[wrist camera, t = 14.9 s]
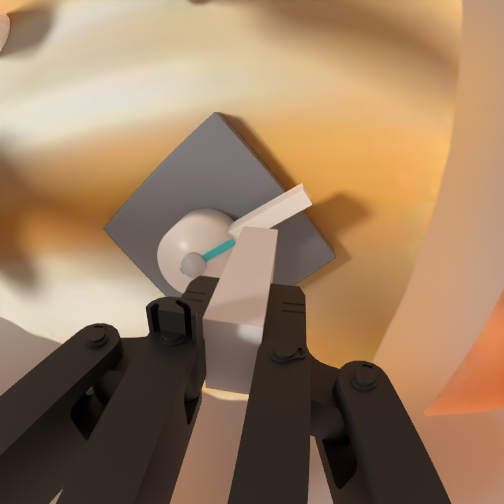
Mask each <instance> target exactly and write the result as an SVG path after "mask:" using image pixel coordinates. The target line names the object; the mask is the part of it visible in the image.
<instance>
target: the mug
mask: <svg viewBox="0 0 504 504" xmlns="http://www.w3.org/2000/svg"><path fill="white" fill-rule="evenodd" d="M9 31H10V19H9V17H8V16H7V15H6V14H2V13H0V51H1V50H2V48H3V47H4V45H5V43H6V40H7V38H8V35H9Z"/></svg>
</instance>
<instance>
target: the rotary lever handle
mask: <svg viewBox="0 0 504 504" xmlns="http://www.w3.org/2000/svg"><path fill="white" fill-rule="evenodd" d="M311 205H312V201H311V196H310V195H309V193H308V191H307V190H306V188H305V186H304V184H303V183H301V184H299V185H297V186H296V187H294V188H292V189H290V190H289V191H287V192H285V193H283V194H281V195H280V196H278V197H276V198H274V199H273V200H271V201H269V202H267V203H266V204H264V205H262V206H260V207H259V208H257V209H255V210H254V211H252V212H250V213H248V214H247V215H245V216H243V217H242V218H240V219H238V220H236V221H234V220H233V219H232V218H230V217H229V216H228V215H226V214H225V213H223V212H221V211H218V210H215V209H209V208H202V209H197V210H194V211H191V212H189V213H188V214H186V215H185V216H184V217H183V218H182V219H181V220H180V221H179V222H178V223H177V224H176V225H175V226H174V227H173V228H171V229H170V230H169V231H168V232H167V233H166V235H165V236H164V237H163V238H162V240H161V242H160V244H159V247H158V252H157V259H158V265H159V268H160V271H161V273H162V275H163V276H164V278H165V279H166V281H167V282H168V283H169V284H170V285H171V286H172V287H173V288H175V289H176V290H177V291H179V292H181V293H184V292H185V290H186V288H187V286H188V285H189V283H190V282H191V281H192V280H194V279H195V278H197V277H198V276H200V275H201V276H209V277H216V278H220V277H221V275H222V273H223V271H224V268H225V266H226V264H227V262H228V259H229V257H230V255H231V253H232V250H233V248H234V246H235V244H236V241H237V239H238V237H239V235H240V233H241V230H242V228H243V226H248V227H257V228H266V229H269V228H271V227H273V226H274V225H276V224H278V223H280V222H282V221H283V220H285V219H287V218H289V217H291V216H293V215H294V214H296V213H298V212H300V211H302V210H304V209H305V208H307V207H309V206H311Z"/></svg>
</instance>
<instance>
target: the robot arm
mask: <svg viewBox="0 0 504 504" xmlns="http://www.w3.org/2000/svg"><path fill="white" fill-rule="evenodd" d="M277 234H278V230H275V229H266V228H257V227H248V226H243V228H242V230H241V233H240V235H239V237H238V239H237V241H236V244H235V246H234V248H233V250H232V253H231V255H230V257H229V259H228V262H227V264H226V266H225V268H224V271H223V273H222V275H221V277H220V278H216V277H209V276H201V275H200V276H198V277H197V278H195V279H194V280H192V281H191V282H190V283H189V285H188V286H187V288H186V290H185V292H184V293H183V295H182V297H171V296H168V297H163V298H158V299H156V300H154V301H152V302H150V303H149V304H148V305H147V306H146V313H147V319H148V325H149V331H150V332H149V334H148V336H146V337H138V338H120V335H119V333H118V330H117V329H116V328H114V327H113V326H112V325H108V324H105V323H96V324H92V325H89V326H87V327H85V328H83V329H81V330H80V331H79V332H77V333H76V334H75V335H74V336H72V337H71V338H70V339H69V340H67V341H66V342H65V343H64V344H62V345H61V346H60V347H59V348H57V349H56V350H55V351H54V352H53V353H51V354H50V355H49V356H48V357H46V358H45V359H44V360H43V361H42V362H40V363H39V364H38V365H37V366H36V367H35V368H33V369H32V370H31V371H30V372H28V373H27V374H26V375H25V376H24V377H22V378H21V379H20V380H19V381H18V382H17V383H15V384H14V385H13V386H12V387H11V388H9V389H8V390H7V391H6V392H5V393H4V394H3V395H1V396H0V504H49V503H50V502H51V501H52V500H53V499H54V498H55V496H56V495H57V494H58V493H59V492H60V491H61V490H62V489H63V490H62V492H61V494H60V496H59V498H58V500H57V503H56V504H170V501H171V497H172V494H173V491H174V488H175V485H176V481H177V478H178V475H179V472H180V469H181V465H182V462H183V459H184V456H185V453H186V450H187V446H188V443H189V440H190V437H191V434H192V431H193V427H194V424H195V421H196V418H197V415H198V411H199V409H200V405H201V402H202V386H203V383H204V380H205V382H206V388H212V389H217V390H223V391H229V392H236V393H242V394H249V399H248V405H247V410H246V415H245V420H244V425H243V430H242V435H241V441H240V446H239V451H238V456H237V461H236V465H235V471H234V476H233V480H232V485H231V490H230V494H229V499H228V504H307V501H308V482H309V458H310V435H311V436H314V437H315V440H316V444H317V447H318V451H319V454H320V458H321V461H322V465H323V468H324V472H325V475H326V479H327V482H328V486H329V489H330V493H331V496H332V500H333V504H451V502H450V500H449V497H448V495H447V493H446V491H445V488H444V486H443V484H442V482H441V480H440V478H439V476H438V473H437V471H436V469H435V467H434V465H433V463H432V461H431V459H430V457H429V455H428V453H427V451H426V449H425V447H424V445H423V443H422V441H421V439H420V437H419V435H418V433H417V431H416V429H415V427H414V425H413V423H412V421H411V419H410V417H409V415H408V413H407V411H406V410H405V408H404V406H403V404H402V402H401V400H400V398H399V396H398V395H397V393H396V391H395V389H394V387H393V386H392V384H391V382H390V380H389V378H388V376H387V375H386V374H385V372H384V371H383V370H382V369H381V368H380V367H378V366H376V365H375V364H373V363H370V362H366V361H352V362H349V363H346V364H345V365H344V366H343V367H341V368H340V369H338V368H335V367H332V366H328V365H326V364H324V363H321V362H320V361H318V360H317V359H315V358H314V357H313V356H312V355H311V354H310V352H309V350H308V348H307V344H306V307H305V294H304V293H303V291H302V290H301V289H300V287H299V286H290V285H281V284H273V283H272V280H273V271H274V262H275V253H276V244H277ZM91 387H92V388H91ZM90 388H91V389H90ZM89 389H90V390H89Z"/></svg>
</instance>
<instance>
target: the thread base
mask: <svg viewBox="0 0 504 504" xmlns="http://www.w3.org/2000/svg"><path fill="white" fill-rule="evenodd" d="M285 192H287V190H286V188H285V187H284V186H283V185H282V184H281V182H280V181H279V180H278V179H277V178H276V176H275V175H274V174H273V173H272V172H271V171H270V169H269V168H268V167H267V166H266V165H265V163H264V162H263V161H262V160H261V159H260V158H259V156H258V155H257V154H256V153H255V152H254V151H253V150H252V148H251V147H250V146H249V145H248V144H247V143H246V142H245V140H244V139H243V138H242V137H241V136H240V135H239V134H238V133H237V131H236V130H235V129H234V128H233V127H232V126H231V125H230V124H229V123H228V121H227V120H226V119H225V118H224V117H223V116H222V115H221V114H220V113H219V112H214V113H213V114H212V115H211V116H210V117H209V118H208V119H206V120H205V121H204V122H203V123H202V124H201V125H200V126H199V127H198V128H197V129H196V130H195V131H194V132H193V133H192V134H190V135H189V136H188V137H187V138H186V139H185V140H184V141H183V142H182V143H181V144H180V145H179V146H178V147H177V148H176V149H175V150H174V151H173V152H172V153H171V154H170V155H169V156H168V157H167V158H166V159H165V160H164V161H163V162H162V163H161V164H160V165H159V166H158V167H157V169H156V170H155V171H154V172H153V173H152V174H151V175H150V176H149V177H148V178H147V179H146V180H145V181H144V182H143V183H142V185H141V186H140V187H139V188H138V189H137V190H136V191H135V192H134V193H133V195H132V196H131V197H130V198H129V199H128V200H127V201H126V203H125V204H124V205H123V206H122V207H121V208H120V209H119V211H118V212H117V213H116V214H115V215H114V217H113V218H112V219H111V220H110V221H109V223H108V224H107V225H106V226H105V227H104V230H105V231H106V233H107V234H108V235H109V236H110V237H111V238H112V239H113V241H114V242H115V243H116V244H117V245H118V246H119V247H120V248H121V249H122V251H123V252H124V253H125V254H126V255H127V256H128V257H129V258H130V259H131V260H132V261H133V262H134V264H135V265H136V266H137V267H138V268H139V269H140V270H141V271H142V272H143V273H144V274H145V275H146V276H147V277H148V278H149V279H150V280H151V281H152V282H153V283H154V284H155V286H156V287H157V288H158V289H159V290H160V291H161V292H162V293H163V294H164V295H165V296H166V297H168V296H171V297H182V295H183V293H181V292H179V291H177V290H176V289H175V288H173V287H172V286H171V285H170V284H169V283H168V282H167V281H166V279H165V278H164V276H163V275H162V273H161V271H160V268H159V265H158V259H157V252H158V247H159V244H160V242H161V240H162V238H163V237H164V236H165V235H166V233H167V232H168V231H169V230H170V229H171V228H173V227H174V226H175V225H176V224H177V223H178V222H179V221H180V220H181V219H182V218H183V217H184V216H185V215H186V214H188V213H189V212H191V211H194V210H197V209H202V208H209V209H215V210H218V211H221V212H223V213H225V214H226V215H228V216H229V217H230V218H232V219H233V220H234V221H236V220H238V219H240V218H242V217H243V216H245V215H247V214H248V213H250V212H252V211H254V210H255V209H257V208H259V207H260V206H262V205H264V204H266V203H267V202H269V201H271V200H273V199H274V198H276V197H278V196H280V195H281V194H283V193H285ZM269 229H275V230H278V234H277V244H276V253H275V262H274V271H273V280H272V283H273V284H281V285H290V286H293V285H295V284H296V283H298V282H299V281H301V280H302V279H304V278H305V277H307V276H309V275H310V274H312V273H313V272H315V271H316V270H318V269H319V268H321V267H322V266H324V265H325V264H327V263H328V262H330V261H331V260H333V259H334V258H336V256H335V252H334V249H333V248H332V246H331V245H330V244H329V243H328V241H327V240H326V239H325V237H324V236H323V235H322V233H321V232H320V231H319V230H318V228H317V227H316V226H315V225H314V223H313V222H312V221H311V219H310V218H309V217H308V216H307V214H306V213H305V212H304V211H303V210H302V211H300V212H298V213H296V214H294V215H293V216H291V217H289V218H287V219H285V220H283V221H282V222H280V223H278V224H276V225H274V226H273V227H271V228H269Z"/></svg>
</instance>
